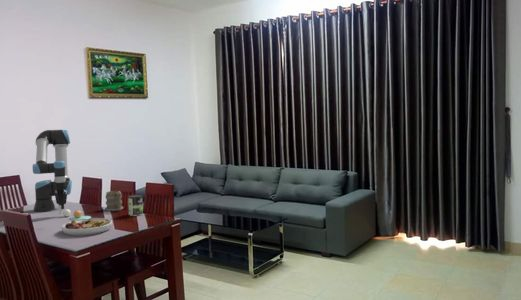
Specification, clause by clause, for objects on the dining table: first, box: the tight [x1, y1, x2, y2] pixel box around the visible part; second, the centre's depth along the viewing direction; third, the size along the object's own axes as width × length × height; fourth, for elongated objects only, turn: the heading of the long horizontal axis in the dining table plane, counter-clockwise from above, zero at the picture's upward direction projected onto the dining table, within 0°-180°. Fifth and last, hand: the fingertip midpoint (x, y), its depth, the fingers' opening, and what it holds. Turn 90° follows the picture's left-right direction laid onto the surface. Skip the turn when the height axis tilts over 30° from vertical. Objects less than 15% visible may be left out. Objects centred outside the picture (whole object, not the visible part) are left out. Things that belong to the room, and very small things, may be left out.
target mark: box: [69, 215, 92, 221], centre depth 310 cm, size 14×14×1 cm
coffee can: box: [127, 194, 144, 217], centre depth 319 cm, size 10×10×14 cm
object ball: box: [73, 209, 83, 218], centre depth 312 cm, size 6×6×6 cm
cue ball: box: [62, 208, 72, 218], centre depth 317 cm, size 6×6×6 cm
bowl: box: [61, 217, 113, 237], centre depth 275 cm, size 30×30×8 cm
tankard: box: [104, 190, 124, 212], centre depth 338 cm, size 20×13×15 cm, turn 40°
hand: (61, 213), depth 319 cm, fingers closed
